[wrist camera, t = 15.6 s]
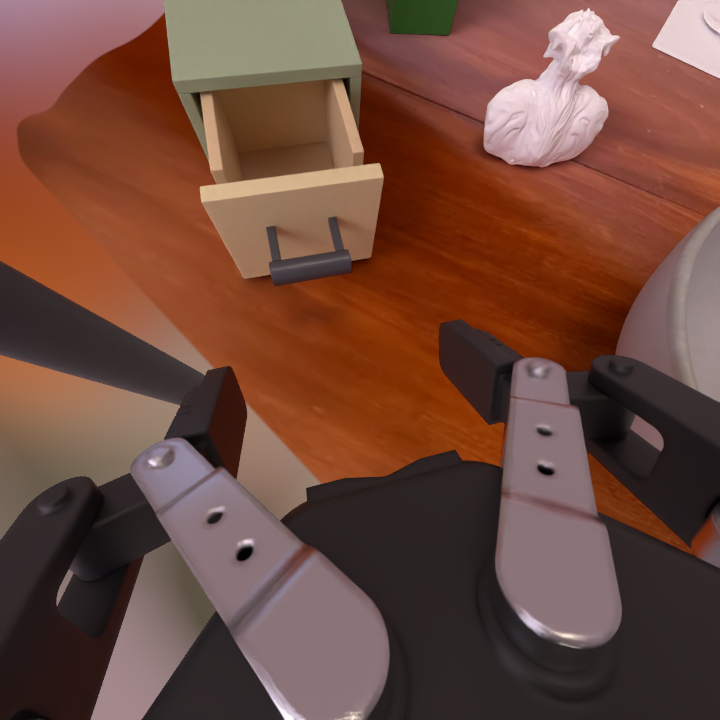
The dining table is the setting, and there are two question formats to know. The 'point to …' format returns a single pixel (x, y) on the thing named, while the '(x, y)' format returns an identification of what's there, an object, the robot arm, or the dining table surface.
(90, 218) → the dining table surface
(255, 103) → the drawer
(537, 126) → the bust
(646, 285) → the decorative bowl
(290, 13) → the cabinet
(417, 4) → the hardback book
